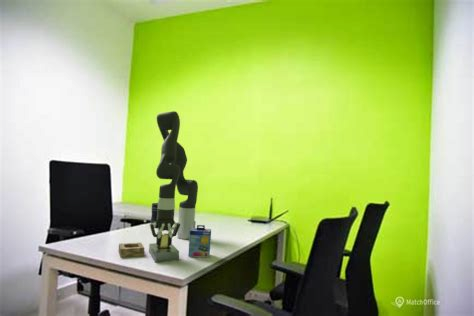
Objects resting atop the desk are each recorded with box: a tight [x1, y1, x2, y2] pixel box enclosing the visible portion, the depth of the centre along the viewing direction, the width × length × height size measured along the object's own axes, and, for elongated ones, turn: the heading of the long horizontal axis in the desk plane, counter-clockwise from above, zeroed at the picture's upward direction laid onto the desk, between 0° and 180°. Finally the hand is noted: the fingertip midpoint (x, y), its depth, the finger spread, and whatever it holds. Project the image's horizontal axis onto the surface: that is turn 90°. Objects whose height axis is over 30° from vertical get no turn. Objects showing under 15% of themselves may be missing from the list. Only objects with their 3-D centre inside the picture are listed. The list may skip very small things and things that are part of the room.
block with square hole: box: [148, 242, 180, 263], centre depth 142 cm, size 10×16×4 cm, turn 25°
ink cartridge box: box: [187, 224, 212, 259], centre depth 146 cm, size 10×6×14 cm, turn 95°
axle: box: [159, 232, 169, 249], centre depth 142 cm, size 4×4×10 cm
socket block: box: [118, 242, 145, 258], centre depth 144 cm, size 10×10×4 cm
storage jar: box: [150, 202, 158, 229], centre depth 208 cm, size 10×10×15 cm
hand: (163, 245), depth 142 cm, fingers closed on axle, 4 cm apart
